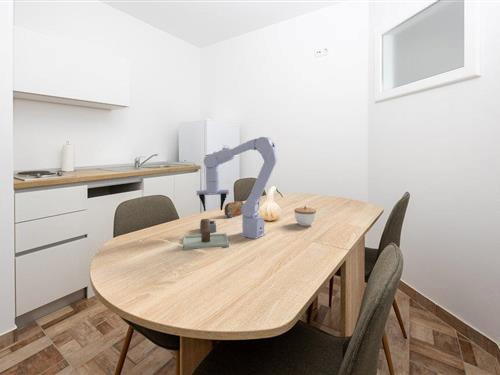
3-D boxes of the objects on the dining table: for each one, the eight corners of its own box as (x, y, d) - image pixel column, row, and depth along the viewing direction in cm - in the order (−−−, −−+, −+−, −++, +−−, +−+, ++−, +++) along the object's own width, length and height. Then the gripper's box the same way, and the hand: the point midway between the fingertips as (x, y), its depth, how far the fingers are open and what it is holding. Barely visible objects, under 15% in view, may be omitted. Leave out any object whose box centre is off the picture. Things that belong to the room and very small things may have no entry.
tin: (227, 219, 158) (227, 204, 156) (223, 218, 159) (223, 203, 158) (244, 214, 169) (244, 200, 168) (240, 213, 171) (240, 199, 170)
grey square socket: (215, 228, 139) (215, 220, 138) (216, 233, 132) (215, 224, 131) (200, 229, 137) (199, 221, 137) (200, 234, 130) (200, 225, 130)
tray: (226, 236, 126) (225, 233, 126) (229, 247, 114) (229, 243, 113) (184, 239, 123) (184, 235, 123) (182, 250, 110) (182, 246, 110)
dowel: (212, 240, 119) (211, 219, 117) (205, 243, 116) (205, 221, 115) (205, 239, 121) (205, 218, 120) (199, 241, 118) (198, 220, 117)
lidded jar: (314, 222, 151) (314, 204, 149) (316, 227, 140) (317, 209, 139) (293, 221, 152) (294, 204, 151) (294, 227, 141) (295, 208, 140)
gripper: (227, 179, 135) (227, 207, 137) (196, 180, 133) (197, 209, 135) (229, 181, 129) (229, 210, 130) (196, 182, 126) (197, 212, 128)
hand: (213, 210), depth 132 cm, fingers open, 7 cm apart
